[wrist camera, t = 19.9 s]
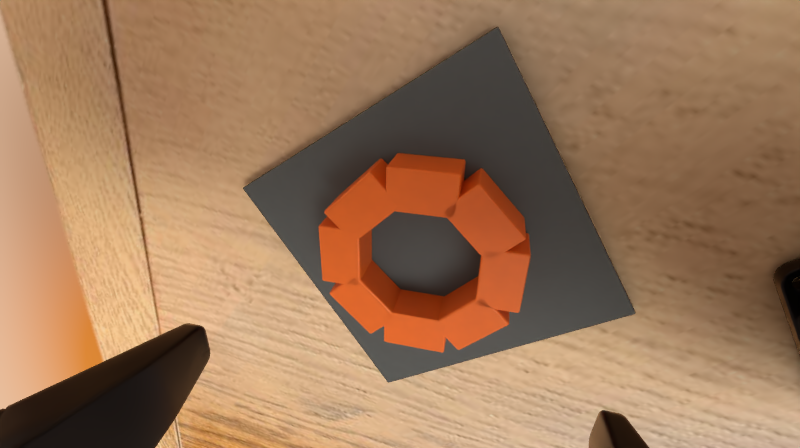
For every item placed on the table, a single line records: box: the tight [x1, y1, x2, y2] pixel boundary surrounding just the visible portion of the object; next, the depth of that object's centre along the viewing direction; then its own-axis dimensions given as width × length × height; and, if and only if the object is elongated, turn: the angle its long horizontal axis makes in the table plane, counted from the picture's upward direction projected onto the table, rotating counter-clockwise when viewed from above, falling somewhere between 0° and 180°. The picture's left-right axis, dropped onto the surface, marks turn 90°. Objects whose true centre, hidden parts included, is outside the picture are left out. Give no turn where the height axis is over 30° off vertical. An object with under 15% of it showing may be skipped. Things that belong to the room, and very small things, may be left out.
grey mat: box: [243, 27, 635, 382], centre depth 14 cm, size 10×10×1 cm
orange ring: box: [319, 153, 531, 353], centre depth 14 cm, size 7×7×1 cm
